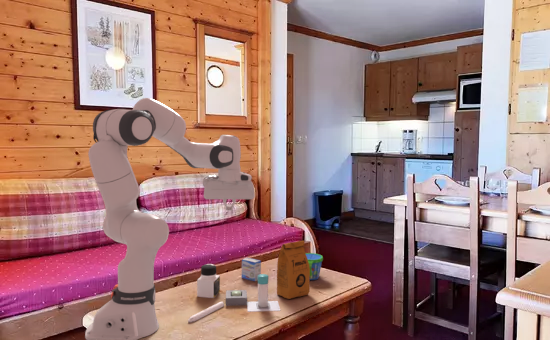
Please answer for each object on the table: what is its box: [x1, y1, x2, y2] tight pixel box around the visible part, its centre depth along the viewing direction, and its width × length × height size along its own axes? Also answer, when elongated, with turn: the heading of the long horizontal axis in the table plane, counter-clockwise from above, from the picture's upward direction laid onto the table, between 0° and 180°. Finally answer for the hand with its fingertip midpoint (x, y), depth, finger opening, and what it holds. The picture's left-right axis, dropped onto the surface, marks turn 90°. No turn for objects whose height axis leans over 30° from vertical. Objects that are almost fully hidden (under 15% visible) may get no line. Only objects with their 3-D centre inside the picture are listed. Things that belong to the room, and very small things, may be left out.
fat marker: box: [257, 273, 269, 308], centre depth 157 cm, size 4×4×12 cm
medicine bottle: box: [196, 263, 221, 299], centre depth 169 cm, size 7×7×12 cm
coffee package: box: [276, 240, 311, 300], centre depth 169 cm, size 10×12×22 cm
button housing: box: [225, 289, 248, 307], centre depth 162 cm, size 8×8×3 cm
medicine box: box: [241, 257, 262, 282], centre depth 188 cm, size 8×4×9 cm, turn 55°
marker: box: [187, 301, 225, 323], centre depth 150 cm, size 18×2×2 cm, turn 147°
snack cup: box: [305, 252, 324, 281], centre depth 190 cm, size 16×10×10 cm
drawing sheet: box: [246, 300, 281, 313], centre depth 158 cm, size 12×9×1 cm
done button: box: [232, 291, 241, 296], centre depth 162 cm, size 4×4×3 cm
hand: (229, 210), depth 168 cm, fingers closed
